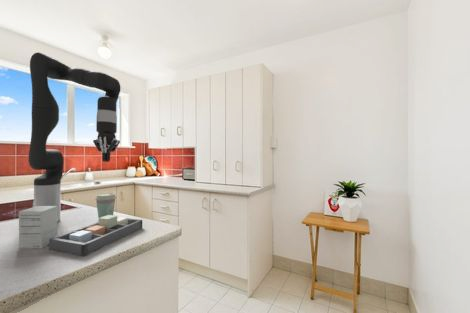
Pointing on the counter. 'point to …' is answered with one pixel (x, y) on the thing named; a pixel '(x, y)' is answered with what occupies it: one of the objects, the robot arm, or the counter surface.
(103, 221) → the pale green cube
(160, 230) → the counter surface
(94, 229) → the orange cube
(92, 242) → the grey compartment tray
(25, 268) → the counter surface
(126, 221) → the cream cube
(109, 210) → the coffee cup
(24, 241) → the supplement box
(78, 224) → the counter surface
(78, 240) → the pale blue cube
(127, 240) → the counter surface
